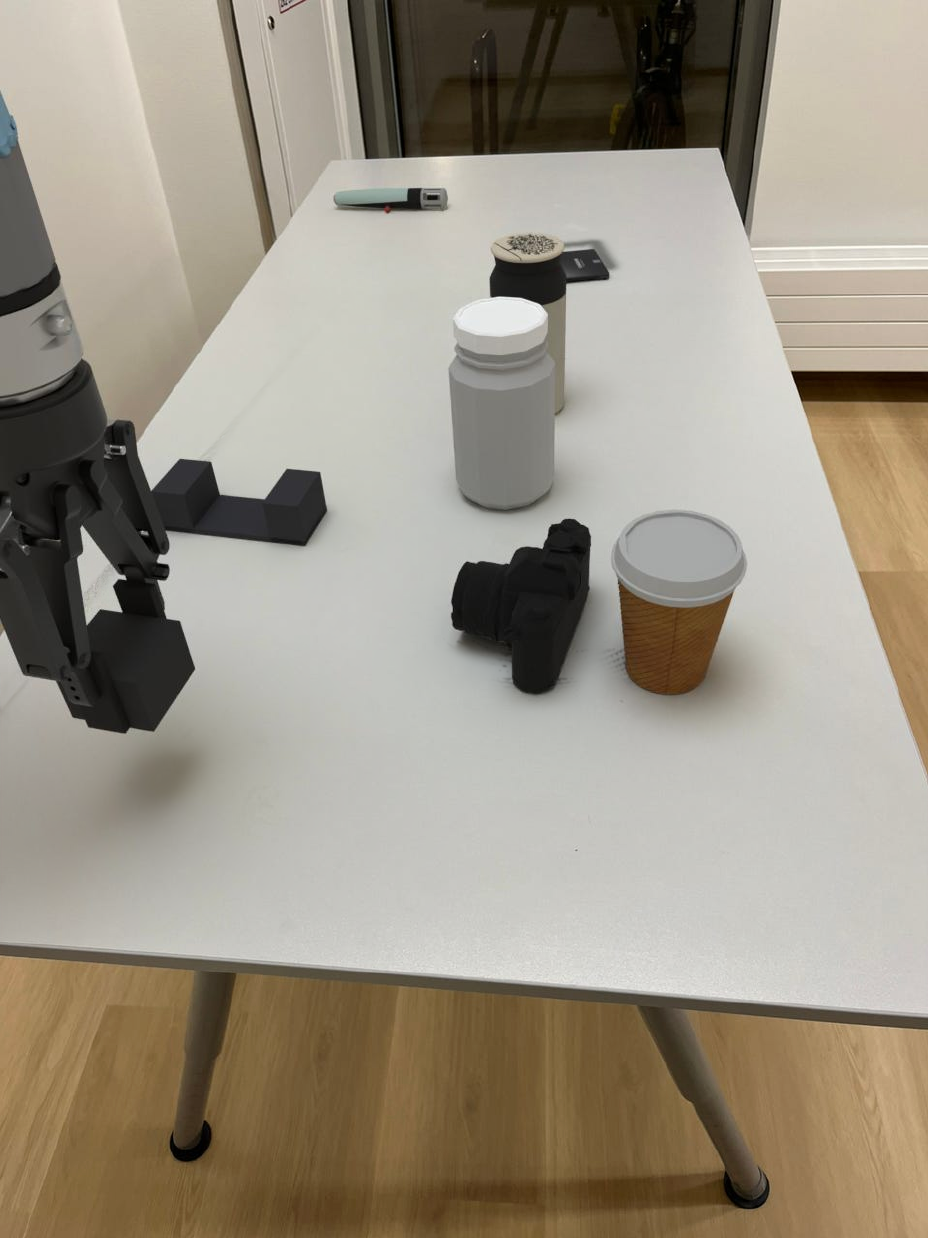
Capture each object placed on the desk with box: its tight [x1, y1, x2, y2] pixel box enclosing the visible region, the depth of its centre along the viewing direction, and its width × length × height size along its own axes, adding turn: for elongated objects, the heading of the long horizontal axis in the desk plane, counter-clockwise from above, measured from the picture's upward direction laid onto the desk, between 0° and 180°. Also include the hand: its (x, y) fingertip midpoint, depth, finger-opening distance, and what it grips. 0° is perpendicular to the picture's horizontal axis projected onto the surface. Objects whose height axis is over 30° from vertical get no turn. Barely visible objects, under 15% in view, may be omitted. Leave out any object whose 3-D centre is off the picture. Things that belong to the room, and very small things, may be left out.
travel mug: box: [489, 232, 567, 414], centre depth 102 cm, size 8×8×18 cm
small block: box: [55, 608, 196, 733], centre depth 63 cm, size 6×6×4 cm
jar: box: [448, 297, 556, 511], centre depth 90 cm, size 10×10×18 cm
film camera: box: [450, 518, 592, 695], centre depth 76 cm, size 15×10×9 cm, turn 161°
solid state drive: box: [560, 248, 610, 283], centre depth 138 cm, size 7×10×1 cm
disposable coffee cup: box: [610, 509, 748, 695], centre depth 71 cm, size 10×10×12 cm
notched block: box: [150, 458, 328, 547], centre depth 92 cm, size 15×6×4 cm, turn 76°
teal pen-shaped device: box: [333, 187, 449, 214], centre depth 162 cm, size 3×4×20 cm
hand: (135, 690), depth 64 cm, fingers closed on small block, 6 cm apart
